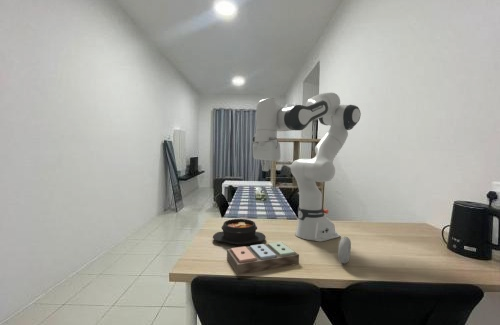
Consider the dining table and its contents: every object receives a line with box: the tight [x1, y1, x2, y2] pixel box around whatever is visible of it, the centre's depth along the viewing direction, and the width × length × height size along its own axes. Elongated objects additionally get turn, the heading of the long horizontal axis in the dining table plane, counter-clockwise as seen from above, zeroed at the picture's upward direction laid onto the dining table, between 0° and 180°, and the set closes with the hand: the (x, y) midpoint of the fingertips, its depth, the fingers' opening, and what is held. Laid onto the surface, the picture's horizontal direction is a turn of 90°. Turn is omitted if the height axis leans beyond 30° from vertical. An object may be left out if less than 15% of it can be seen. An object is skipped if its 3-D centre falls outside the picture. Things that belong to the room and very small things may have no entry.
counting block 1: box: [230, 246, 256, 263], centre depth 90 cm, size 6×11×4 cm, turn 21°
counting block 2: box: [250, 243, 276, 260], centre depth 93 cm, size 6×11×4 cm, turn 21°
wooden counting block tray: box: [226, 241, 300, 275], centre depth 93 cm, size 24×13×4 cm, turn 111°
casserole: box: [212, 218, 266, 245], centre depth 114 cm, size 25×19×8 cm
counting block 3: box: [267, 241, 296, 257], centre depth 96 cm, size 6×11×4 cm, turn 21°
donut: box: [337, 236, 352, 265], centre depth 93 cm, size 10×4×10 cm, turn 148°
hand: (265, 170), depth 101 cm, fingers closed
